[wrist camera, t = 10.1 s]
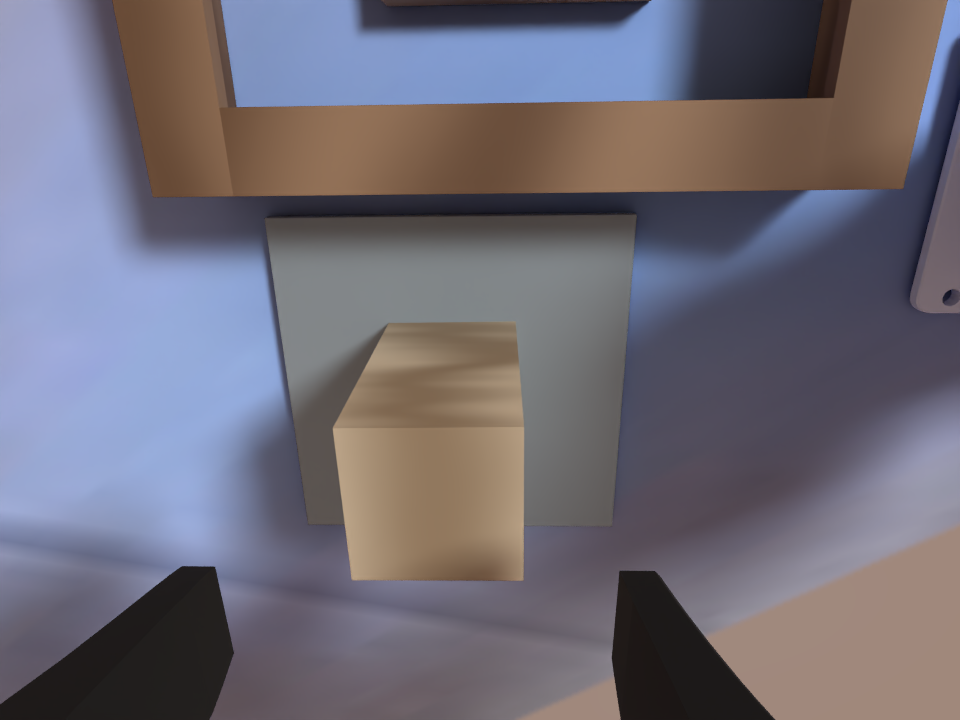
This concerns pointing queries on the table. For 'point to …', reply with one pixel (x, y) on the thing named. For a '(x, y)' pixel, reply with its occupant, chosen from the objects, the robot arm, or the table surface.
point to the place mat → (465, 298)
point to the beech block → (435, 455)
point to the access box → (531, 122)
